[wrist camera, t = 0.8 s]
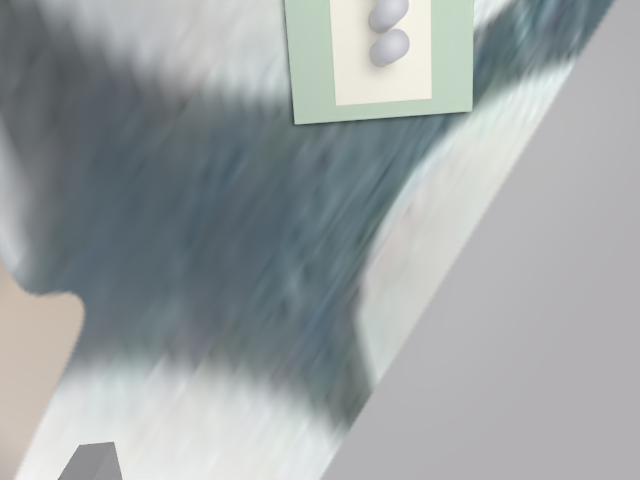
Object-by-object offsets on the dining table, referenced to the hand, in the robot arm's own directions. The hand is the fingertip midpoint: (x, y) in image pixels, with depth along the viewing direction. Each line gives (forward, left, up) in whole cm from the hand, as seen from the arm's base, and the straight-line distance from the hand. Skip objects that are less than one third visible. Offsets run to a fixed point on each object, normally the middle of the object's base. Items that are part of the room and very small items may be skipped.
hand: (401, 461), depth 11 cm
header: (-14, +4, -24) cm, 28 cm away
